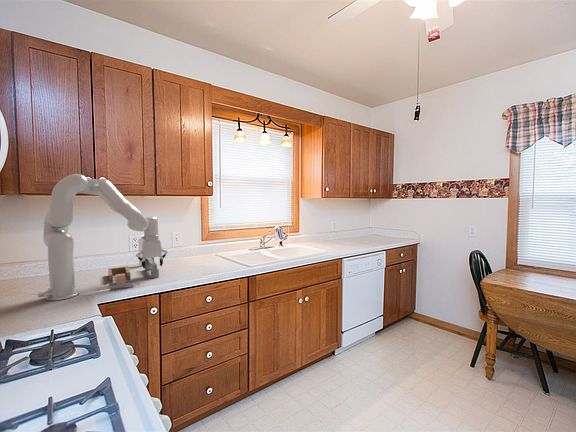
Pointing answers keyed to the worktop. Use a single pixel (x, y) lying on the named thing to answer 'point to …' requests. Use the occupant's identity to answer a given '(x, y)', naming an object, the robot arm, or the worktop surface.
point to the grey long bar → (151, 267)
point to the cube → (120, 279)
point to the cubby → (112, 278)
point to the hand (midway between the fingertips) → (152, 266)
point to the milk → (140, 249)
